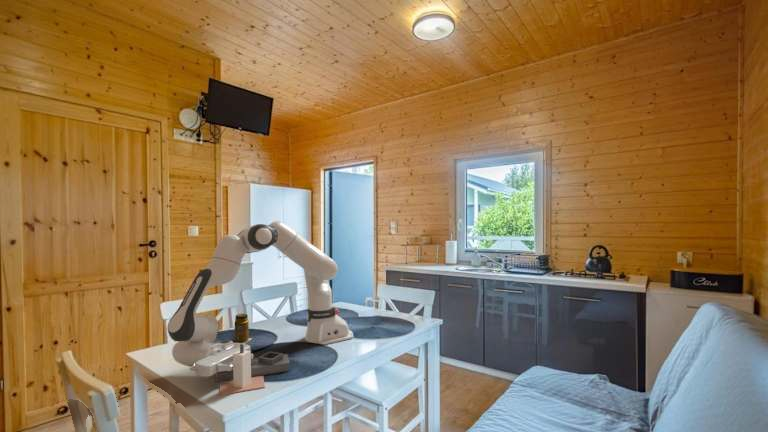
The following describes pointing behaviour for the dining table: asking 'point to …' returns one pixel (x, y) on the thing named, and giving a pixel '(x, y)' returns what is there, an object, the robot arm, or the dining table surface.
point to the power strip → (261, 366)
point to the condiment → (241, 329)
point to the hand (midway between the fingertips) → (242, 362)
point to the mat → (230, 388)
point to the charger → (242, 367)
